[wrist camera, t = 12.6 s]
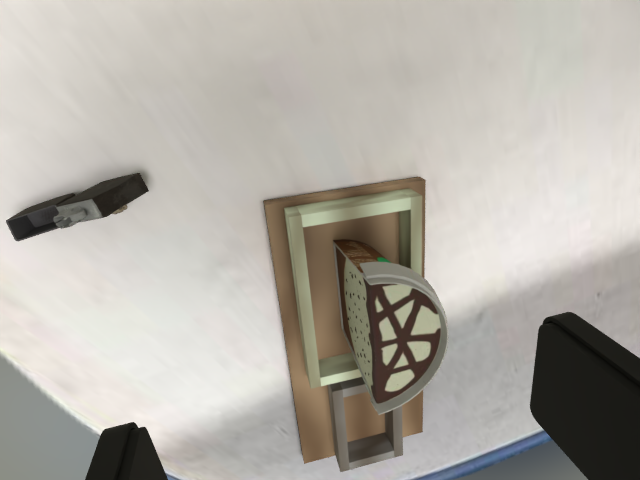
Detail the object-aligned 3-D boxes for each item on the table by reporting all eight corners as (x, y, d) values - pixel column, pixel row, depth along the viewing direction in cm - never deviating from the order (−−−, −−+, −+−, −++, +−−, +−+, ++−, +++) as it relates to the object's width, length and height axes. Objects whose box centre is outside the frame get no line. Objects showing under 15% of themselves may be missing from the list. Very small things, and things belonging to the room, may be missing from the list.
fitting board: (419, 176, 36) (439, 187, 33) (417, 423, 48) (432, 449, 44) (263, 200, 34) (268, 214, 30) (302, 454, 45) (308, 484, 42)
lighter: (76, 215, 33) (13, 251, 29) (61, 191, 32) (-7, 224, 28) (153, 199, 30) (94, 238, 25) (138, 171, 29) (74, 206, 24)
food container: (401, 327, 40) (453, 400, 31) (342, 341, 39) (378, 420, 30) (398, 212, 36) (458, 258, 26) (330, 224, 35) (369, 276, 26)
